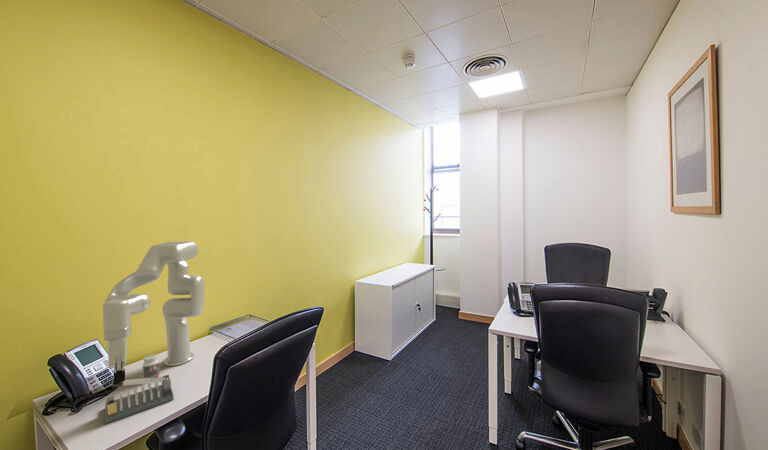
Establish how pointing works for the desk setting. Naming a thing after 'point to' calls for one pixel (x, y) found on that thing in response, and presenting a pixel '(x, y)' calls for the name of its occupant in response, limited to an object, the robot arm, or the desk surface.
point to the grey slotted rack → (138, 401)
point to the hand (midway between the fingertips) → (119, 381)
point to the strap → (140, 381)
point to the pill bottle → (151, 367)
